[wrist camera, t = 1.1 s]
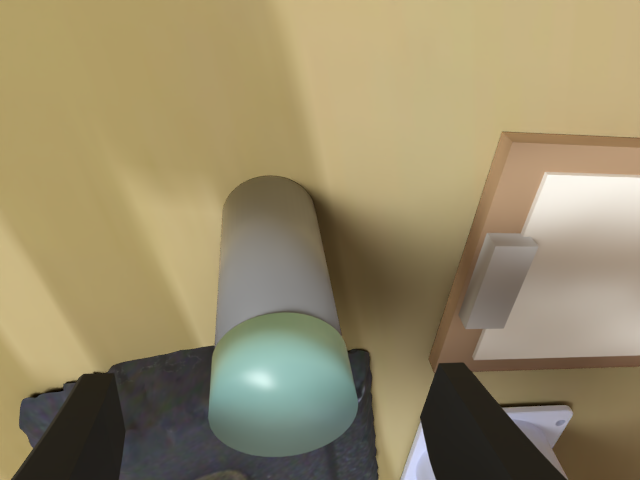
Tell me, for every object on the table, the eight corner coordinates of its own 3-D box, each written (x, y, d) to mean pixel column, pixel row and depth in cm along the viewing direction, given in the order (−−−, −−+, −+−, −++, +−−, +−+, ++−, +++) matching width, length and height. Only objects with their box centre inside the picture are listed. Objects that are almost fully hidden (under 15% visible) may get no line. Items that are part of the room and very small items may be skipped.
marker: (312, 255, 19) (347, 452, 13) (221, 254, 18) (209, 460, 12) (321, 175, 17) (368, 361, 11) (220, 173, 17) (206, 366, 10)
